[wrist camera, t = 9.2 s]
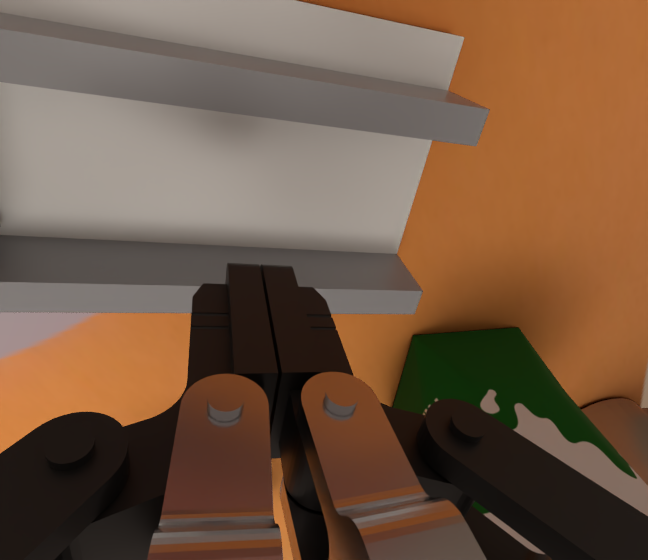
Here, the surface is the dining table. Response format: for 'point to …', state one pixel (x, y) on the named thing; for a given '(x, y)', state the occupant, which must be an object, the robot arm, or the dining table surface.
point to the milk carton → (514, 404)
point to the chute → (213, 149)
